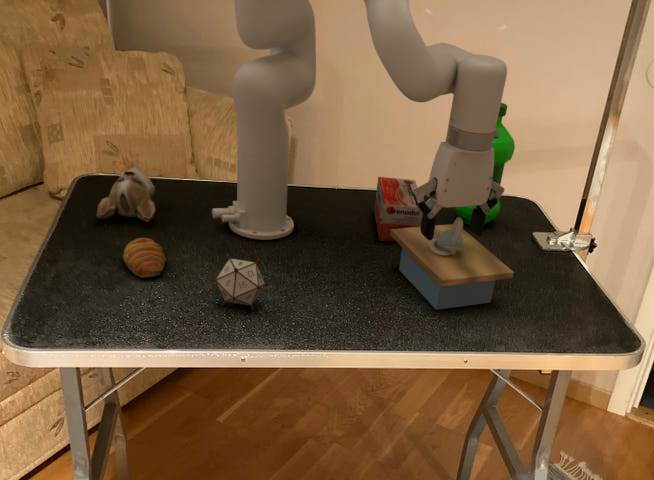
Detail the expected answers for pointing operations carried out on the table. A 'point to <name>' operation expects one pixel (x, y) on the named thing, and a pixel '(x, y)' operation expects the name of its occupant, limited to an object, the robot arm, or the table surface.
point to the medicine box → (395, 206)
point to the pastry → (144, 257)
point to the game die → (240, 281)
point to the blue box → (444, 287)
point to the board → (452, 258)
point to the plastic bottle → (501, 155)
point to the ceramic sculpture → (129, 197)
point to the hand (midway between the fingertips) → (451, 234)
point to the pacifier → (449, 240)
